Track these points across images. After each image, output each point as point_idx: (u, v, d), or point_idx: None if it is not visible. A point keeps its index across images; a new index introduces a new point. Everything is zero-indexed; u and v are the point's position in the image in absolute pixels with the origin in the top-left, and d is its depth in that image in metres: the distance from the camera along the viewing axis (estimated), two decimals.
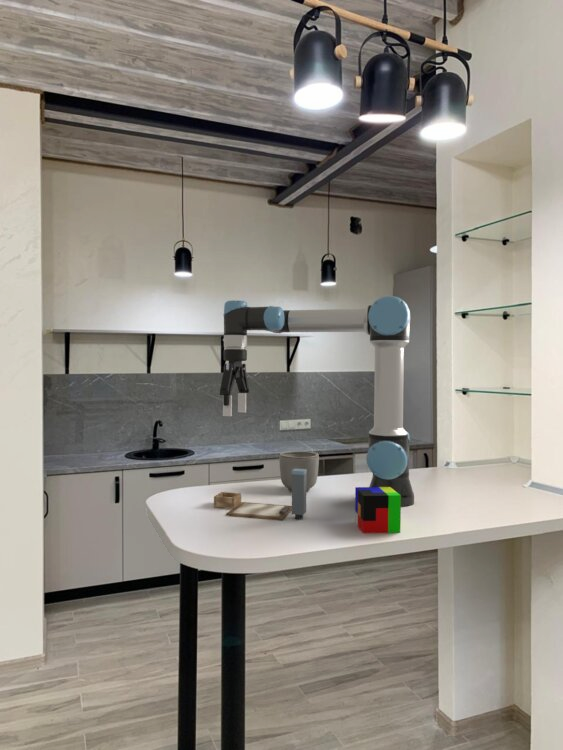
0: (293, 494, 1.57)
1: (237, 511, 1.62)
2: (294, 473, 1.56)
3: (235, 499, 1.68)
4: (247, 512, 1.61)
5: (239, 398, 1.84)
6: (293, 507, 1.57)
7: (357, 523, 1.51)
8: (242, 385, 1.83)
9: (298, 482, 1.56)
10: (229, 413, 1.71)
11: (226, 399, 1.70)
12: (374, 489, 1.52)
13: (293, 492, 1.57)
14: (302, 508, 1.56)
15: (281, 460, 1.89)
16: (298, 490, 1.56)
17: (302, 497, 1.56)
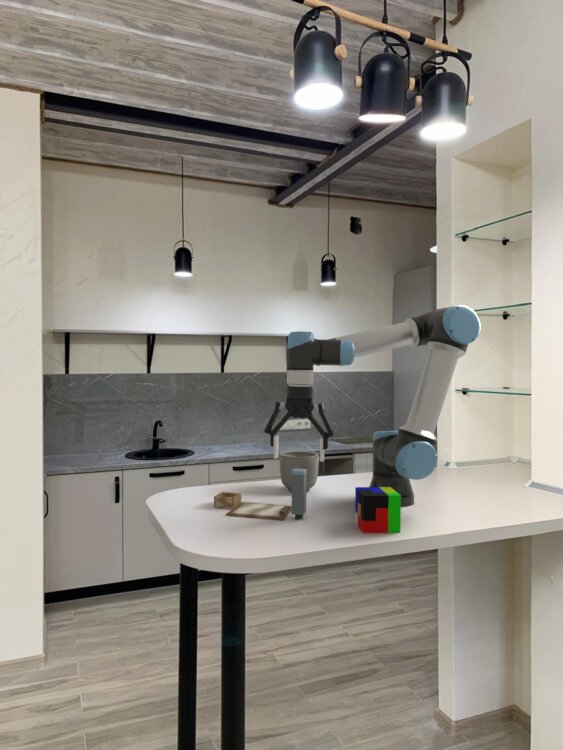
0: (293, 494, 1.57)
1: (237, 511, 1.62)
2: (293, 473, 1.56)
3: (235, 499, 1.68)
4: (247, 512, 1.61)
5: None
6: (293, 507, 1.57)
7: (357, 523, 1.51)
8: None
9: (298, 482, 1.56)
10: None
11: None
12: (374, 489, 1.52)
13: (293, 492, 1.57)
14: (302, 508, 1.56)
15: (281, 460, 1.89)
16: (298, 490, 1.56)
17: (302, 497, 1.56)
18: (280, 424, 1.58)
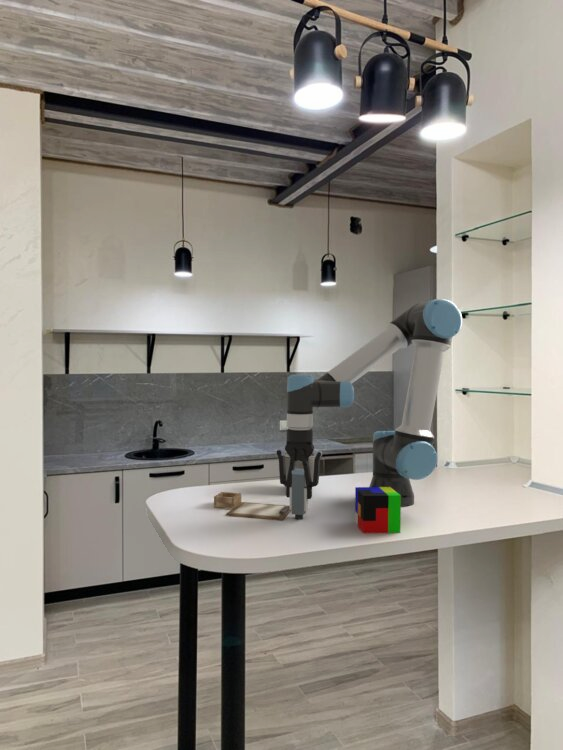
0: (293, 494, 1.57)
1: (237, 511, 1.62)
2: (294, 473, 1.56)
3: (235, 499, 1.68)
4: (247, 512, 1.61)
5: None
6: (293, 507, 1.57)
7: (357, 523, 1.51)
8: None
9: (298, 482, 1.56)
10: None
11: None
12: (374, 489, 1.52)
13: (293, 492, 1.57)
14: (302, 508, 1.56)
15: None
16: (298, 490, 1.56)
17: (302, 497, 1.56)
18: (290, 472, 1.57)
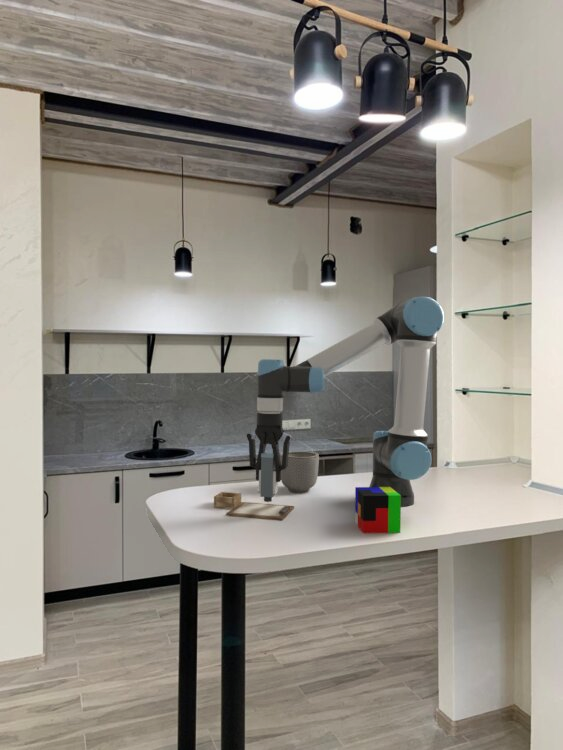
0: (262, 477, 1.59)
1: (237, 511, 1.62)
2: (263, 456, 1.59)
3: (235, 499, 1.68)
4: (247, 512, 1.61)
5: None
6: (262, 490, 1.59)
7: (357, 523, 1.51)
8: None
9: (267, 465, 1.58)
10: None
11: None
12: (374, 489, 1.52)
13: (262, 475, 1.59)
14: (271, 491, 1.58)
15: (281, 460, 1.89)
16: (267, 472, 1.58)
17: (271, 480, 1.58)
18: (260, 455, 1.59)
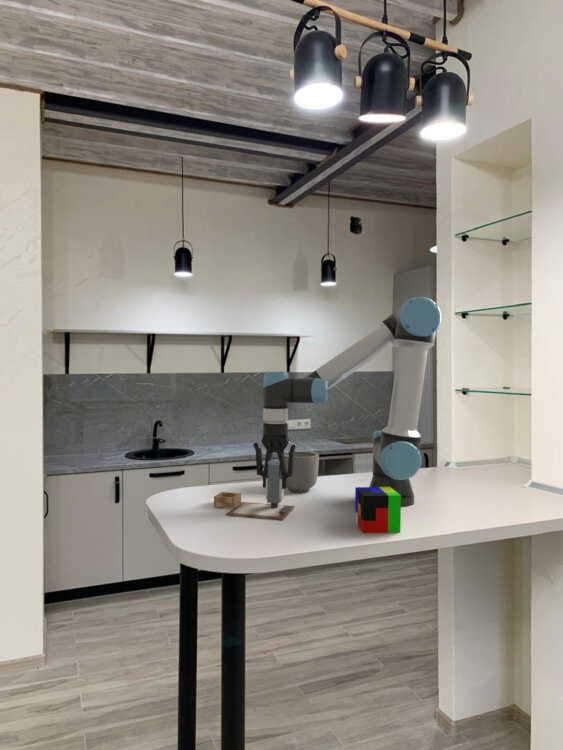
0: (269, 483, 1.66)
1: (237, 511, 1.62)
2: (270, 463, 1.66)
3: (235, 499, 1.68)
4: (247, 512, 1.61)
5: None
6: (269, 496, 1.65)
7: (357, 523, 1.51)
8: None
9: (273, 471, 1.65)
10: None
11: None
12: (374, 489, 1.52)
13: (269, 481, 1.66)
14: (277, 497, 1.65)
15: None
16: (273, 479, 1.65)
17: (277, 486, 1.65)
18: (266, 463, 1.66)
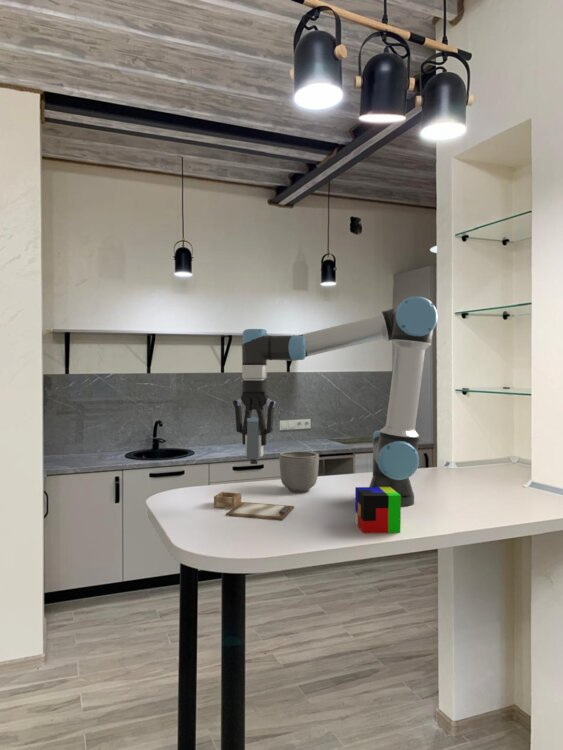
0: (248, 440, 1.67)
1: (237, 511, 1.62)
2: (249, 420, 1.67)
3: (235, 499, 1.68)
4: (247, 512, 1.61)
5: None
6: (248, 452, 1.67)
7: (357, 523, 1.51)
8: None
9: (252, 428, 1.67)
10: None
11: None
12: (374, 489, 1.52)
13: (248, 438, 1.67)
14: (256, 453, 1.66)
15: (281, 460, 1.89)
16: (252, 436, 1.67)
17: (256, 443, 1.66)
18: (246, 420, 1.68)
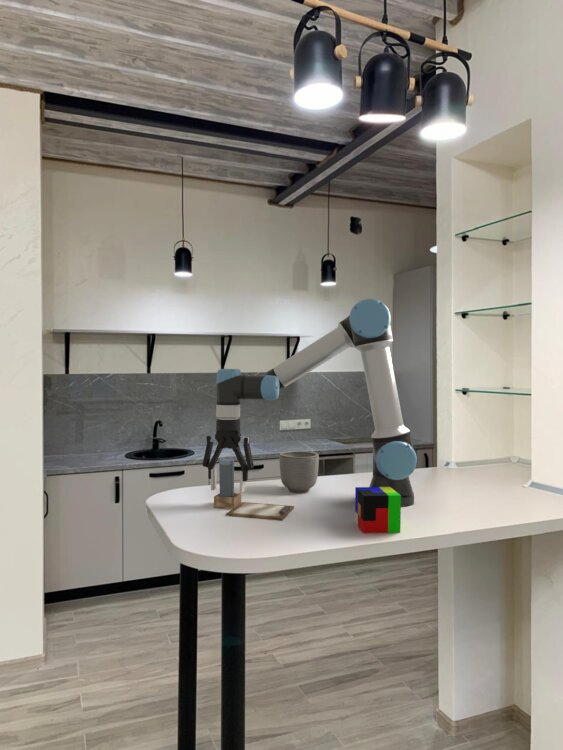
0: (221, 483, 1.69)
1: (237, 511, 1.62)
2: (221, 463, 1.69)
3: (235, 499, 1.68)
4: (247, 512, 1.61)
5: None
6: (221, 495, 1.69)
7: (357, 523, 1.51)
8: None
9: (225, 471, 1.69)
10: None
11: None
12: (374, 489, 1.52)
13: (221, 481, 1.69)
14: (229, 495, 1.69)
15: (281, 460, 1.89)
16: (225, 478, 1.69)
17: (229, 485, 1.68)
18: (214, 457, 1.71)
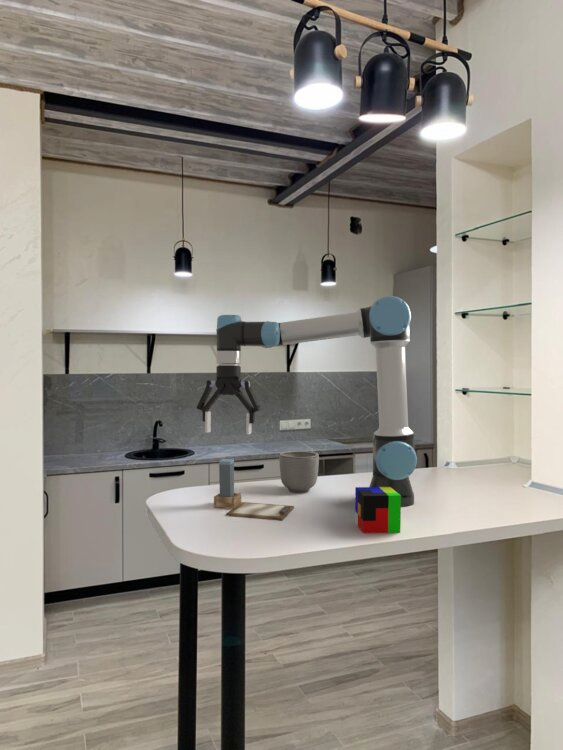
0: (221, 483, 1.69)
1: (237, 511, 1.62)
2: (221, 463, 1.69)
3: (235, 499, 1.68)
4: (247, 512, 1.61)
5: None
6: (221, 495, 1.69)
7: (357, 523, 1.51)
8: None
9: (224, 471, 1.68)
10: None
11: None
12: (374, 489, 1.52)
13: (221, 481, 1.69)
14: (229, 495, 1.68)
15: (281, 460, 1.89)
16: (225, 479, 1.69)
17: (229, 485, 1.68)
18: (211, 401, 1.71)
